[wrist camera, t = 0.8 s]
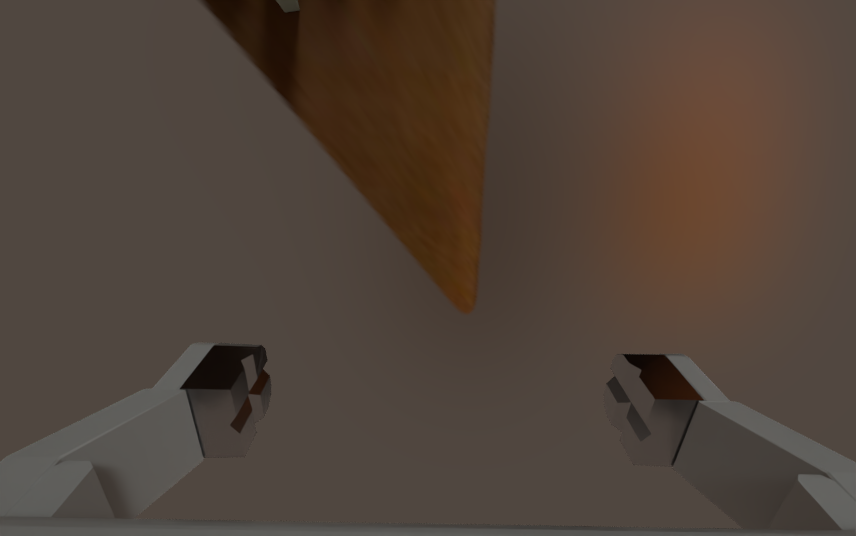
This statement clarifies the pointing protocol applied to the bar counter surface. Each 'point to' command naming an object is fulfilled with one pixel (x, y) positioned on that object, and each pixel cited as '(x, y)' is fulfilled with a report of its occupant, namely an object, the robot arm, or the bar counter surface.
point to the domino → (289, 5)
